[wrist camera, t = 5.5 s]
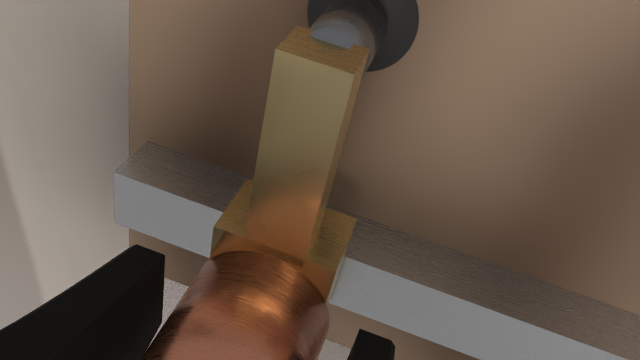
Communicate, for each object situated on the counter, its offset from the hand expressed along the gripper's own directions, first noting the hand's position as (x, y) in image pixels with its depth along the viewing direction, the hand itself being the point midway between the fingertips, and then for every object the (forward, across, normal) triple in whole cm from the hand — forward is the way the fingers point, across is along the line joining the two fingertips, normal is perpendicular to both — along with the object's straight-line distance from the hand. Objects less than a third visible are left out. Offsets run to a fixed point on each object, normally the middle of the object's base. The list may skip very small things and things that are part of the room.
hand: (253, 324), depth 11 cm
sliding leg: (+4, 0, -2) cm, 4 cm away
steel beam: (+4, -6, +1) cm, 7 cm away
